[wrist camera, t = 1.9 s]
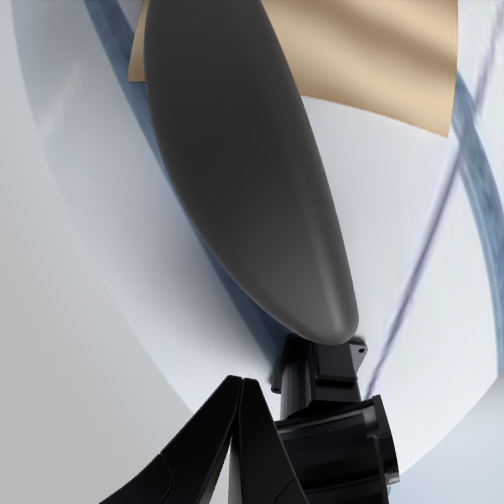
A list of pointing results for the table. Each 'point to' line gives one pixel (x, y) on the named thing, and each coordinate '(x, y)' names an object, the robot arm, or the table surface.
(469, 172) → the table surface
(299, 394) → the robot arm
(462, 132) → the table surface
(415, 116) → the wooden board
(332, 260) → the leaning round-cornered charcoal block
